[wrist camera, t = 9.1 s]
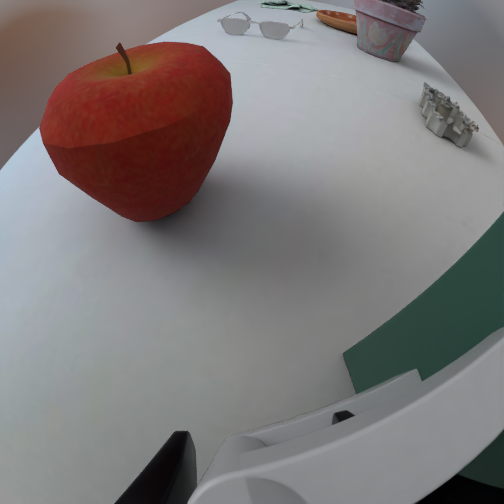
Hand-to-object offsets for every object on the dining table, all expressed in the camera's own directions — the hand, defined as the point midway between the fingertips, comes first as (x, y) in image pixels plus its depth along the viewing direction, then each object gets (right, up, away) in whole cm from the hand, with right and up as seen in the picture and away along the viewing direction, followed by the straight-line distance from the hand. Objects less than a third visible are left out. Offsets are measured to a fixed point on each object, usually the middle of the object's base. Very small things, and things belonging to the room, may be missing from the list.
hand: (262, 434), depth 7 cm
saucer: (+29, +69, +53) cm, 91 cm away
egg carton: (+26, +23, +24) cm, 42 cm away
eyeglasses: (+3, +54, +42) cm, 69 cm away
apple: (-7, +9, +13) cm, 18 cm away
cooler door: (+4, -8, +3) cm, 9 cm away
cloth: (+12, +92, +66) cm, 114 cm away
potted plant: (+26, +49, +40) cm, 68 cm away
